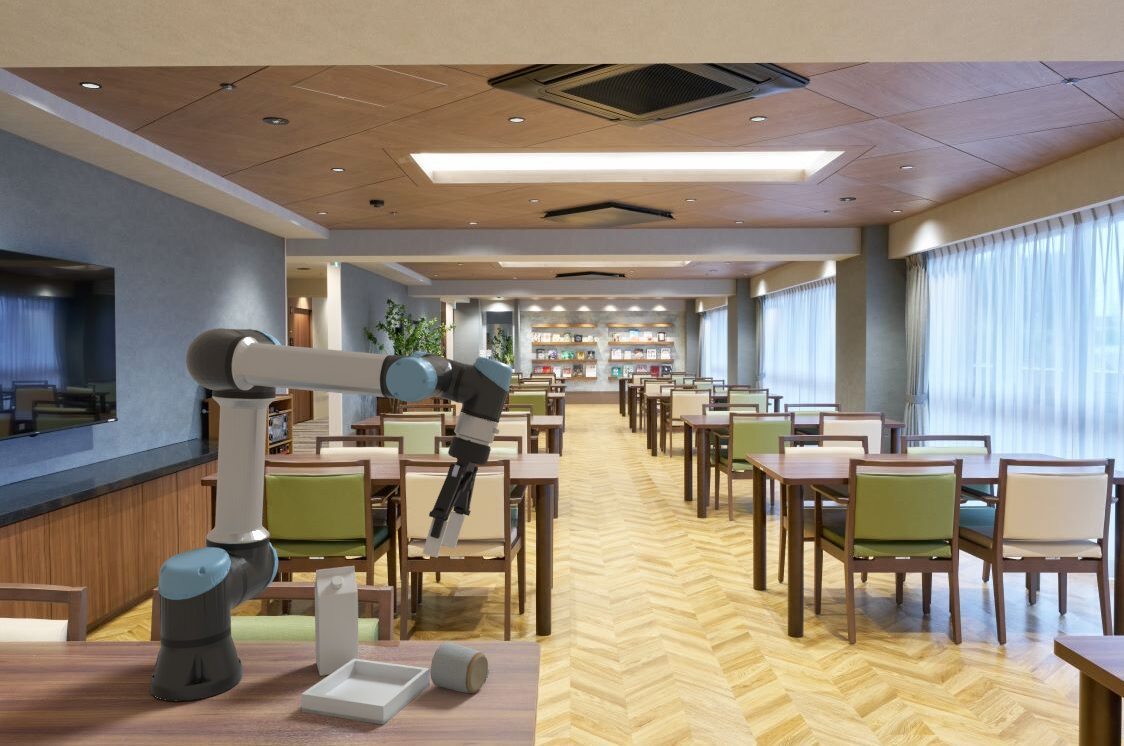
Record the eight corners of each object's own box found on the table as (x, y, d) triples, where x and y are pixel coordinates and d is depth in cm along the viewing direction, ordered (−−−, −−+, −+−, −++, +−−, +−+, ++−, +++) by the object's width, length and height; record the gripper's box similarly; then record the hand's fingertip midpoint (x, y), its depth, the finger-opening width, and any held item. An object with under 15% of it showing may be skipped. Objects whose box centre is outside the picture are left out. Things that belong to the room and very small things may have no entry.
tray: (301, 711, 130) (301, 693, 130) (354, 674, 145) (354, 658, 145) (383, 724, 125) (383, 706, 125) (429, 684, 140) (429, 668, 140)
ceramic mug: (468, 701, 133) (468, 656, 133) (429, 692, 137) (429, 649, 137) (500, 678, 143) (500, 637, 143) (462, 671, 146) (462, 630, 146)
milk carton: (315, 663, 150) (314, 565, 150) (353, 656, 153) (351, 561, 153) (319, 677, 144) (318, 575, 143) (359, 670, 147) (357, 570, 146)
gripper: (478, 445, 133) (442, 566, 131) (502, 446, 158) (472, 548, 156) (437, 432, 134) (400, 552, 132) (468, 436, 159) (437, 537, 157)
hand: (439, 550), depth 144 cm, fingers open, 13 cm apart
